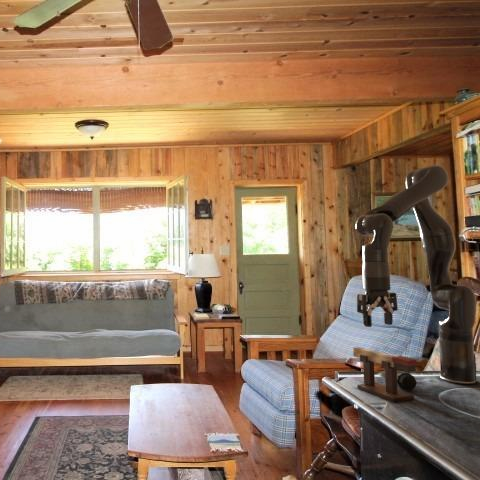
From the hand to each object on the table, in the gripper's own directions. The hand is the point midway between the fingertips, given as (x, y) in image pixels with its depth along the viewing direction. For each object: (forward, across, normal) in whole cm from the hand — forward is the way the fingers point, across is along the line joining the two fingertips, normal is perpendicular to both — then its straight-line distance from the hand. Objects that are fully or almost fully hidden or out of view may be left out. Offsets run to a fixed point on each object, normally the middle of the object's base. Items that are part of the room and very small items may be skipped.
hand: (378, 325), depth 132 cm
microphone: (+22, -12, -4) cm, 25 cm away
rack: (+21, +1, +2) cm, 21 cm away
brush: (+12, 0, +2) cm, 12 cm away
